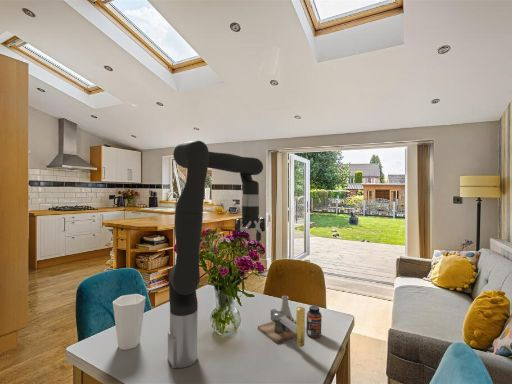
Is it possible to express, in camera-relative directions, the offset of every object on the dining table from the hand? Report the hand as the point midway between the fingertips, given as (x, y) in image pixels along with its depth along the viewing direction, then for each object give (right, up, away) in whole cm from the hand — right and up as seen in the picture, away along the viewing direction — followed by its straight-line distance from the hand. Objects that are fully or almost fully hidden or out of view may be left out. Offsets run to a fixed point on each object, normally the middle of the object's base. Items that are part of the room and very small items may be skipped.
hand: (250, 242), depth 119 cm
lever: (+15, -33, -12) cm, 38 cm away
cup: (-45, -36, -15) cm, 60 cm away
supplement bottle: (+26, -37, -7) cm, 46 cm away
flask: (+16, -37, +7) cm, 40 cm away
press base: (+11, -36, -5) cm, 38 cm away
